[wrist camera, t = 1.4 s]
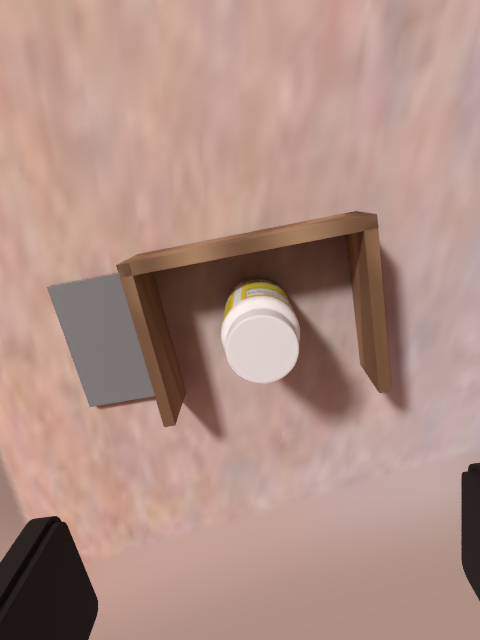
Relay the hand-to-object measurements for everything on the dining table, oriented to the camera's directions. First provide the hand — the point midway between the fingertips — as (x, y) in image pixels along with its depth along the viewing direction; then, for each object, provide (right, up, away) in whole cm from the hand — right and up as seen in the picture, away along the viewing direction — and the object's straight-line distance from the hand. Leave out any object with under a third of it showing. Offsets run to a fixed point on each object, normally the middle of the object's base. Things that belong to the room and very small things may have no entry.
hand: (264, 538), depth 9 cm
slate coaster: (-11, +4, +20) cm, 23 cm away
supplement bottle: (+1, +6, +19) cm, 21 cm away
